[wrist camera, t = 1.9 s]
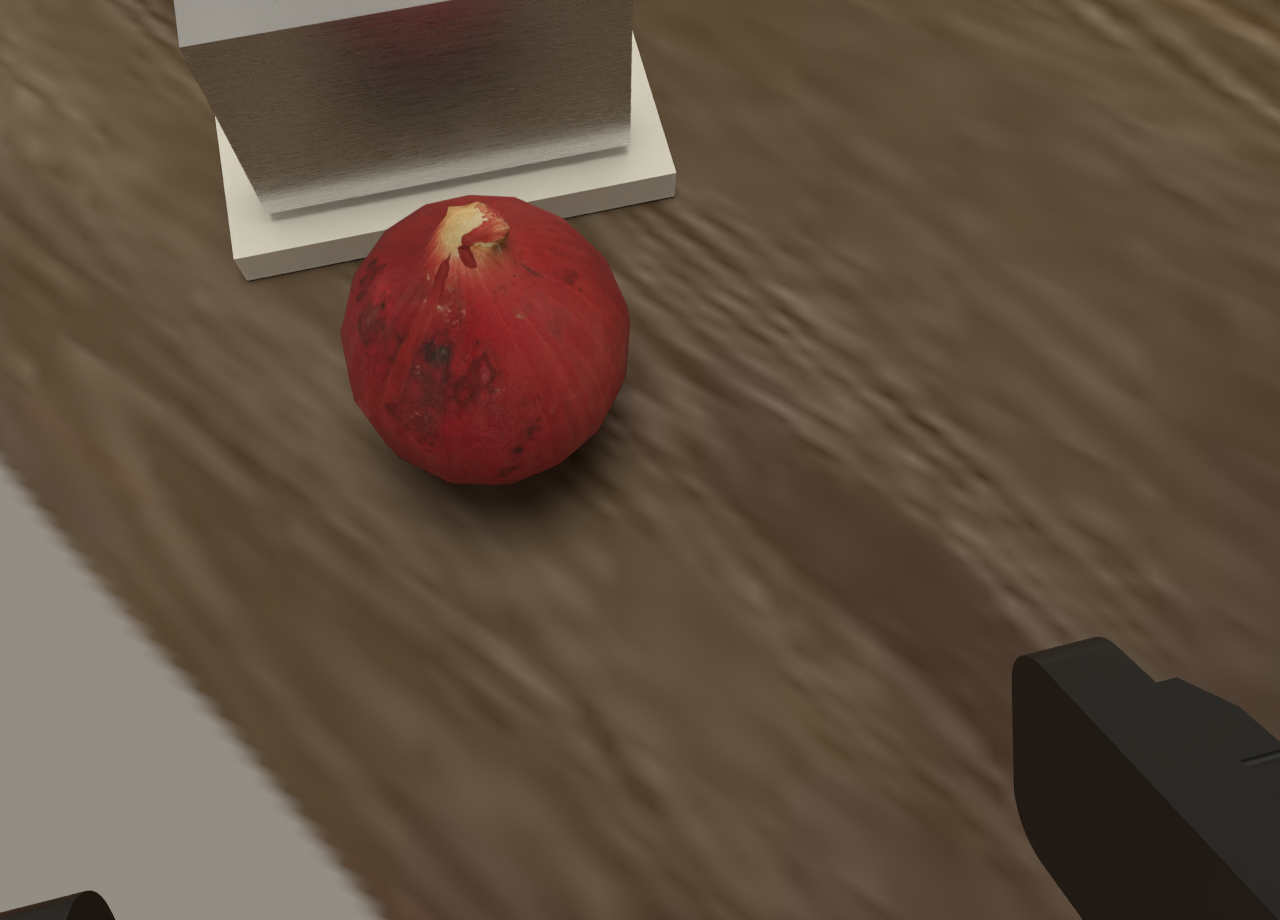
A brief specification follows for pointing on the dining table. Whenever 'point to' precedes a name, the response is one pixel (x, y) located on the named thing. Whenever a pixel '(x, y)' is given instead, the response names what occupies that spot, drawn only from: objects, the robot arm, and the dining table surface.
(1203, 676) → the dining table surface
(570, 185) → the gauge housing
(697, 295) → the dining table surface
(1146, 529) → the dining table surface
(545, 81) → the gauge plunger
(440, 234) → the red pomegranate
